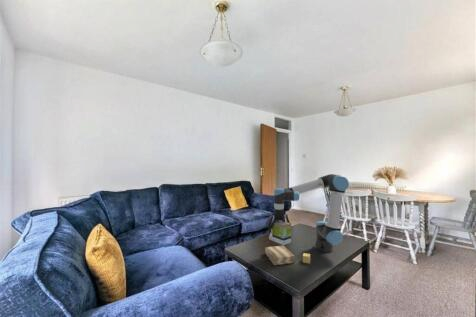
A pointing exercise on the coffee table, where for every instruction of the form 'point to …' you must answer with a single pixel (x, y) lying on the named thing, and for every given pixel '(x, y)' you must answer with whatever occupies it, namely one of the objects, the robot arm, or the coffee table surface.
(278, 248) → the oak pedestal
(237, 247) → the coffee table surface
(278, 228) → the tea box
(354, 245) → the coffee table surface
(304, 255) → the mustard cube
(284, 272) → the coffee table surface
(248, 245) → the coffee table surface
